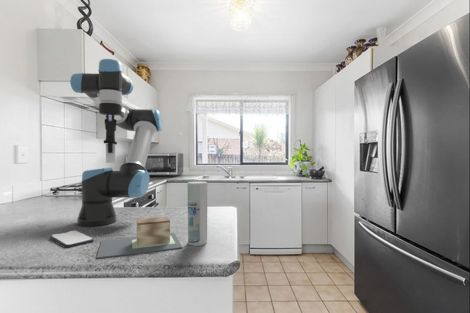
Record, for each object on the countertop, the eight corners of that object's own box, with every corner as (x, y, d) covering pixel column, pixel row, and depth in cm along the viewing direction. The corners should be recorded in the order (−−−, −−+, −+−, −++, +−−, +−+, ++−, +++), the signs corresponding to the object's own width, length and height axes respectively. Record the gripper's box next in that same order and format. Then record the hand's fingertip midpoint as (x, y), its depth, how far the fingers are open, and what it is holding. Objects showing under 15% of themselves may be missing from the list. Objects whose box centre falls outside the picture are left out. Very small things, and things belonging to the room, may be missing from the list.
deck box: (167, 237, 95) (167, 216, 95) (169, 242, 89) (169, 220, 89) (136, 240, 91) (136, 219, 91) (137, 246, 86) (137, 223, 86)
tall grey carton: (183, 242, 91) (183, 182, 90) (198, 238, 95) (198, 181, 95) (196, 247, 86) (196, 183, 86) (211, 242, 91) (211, 182, 91)
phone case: (95, 243, 92) (76, 233, 102) (95, 238, 92) (76, 229, 102) (66, 250, 85) (48, 239, 95) (66, 245, 85) (48, 235, 95)
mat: (101, 241, 92) (101, 239, 92) (173, 233, 101) (173, 232, 101) (96, 258, 76) (96, 257, 76) (182, 248, 85) (182, 246, 85)
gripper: (101, 107, 110) (101, 160, 110) (96, 96, 87) (96, 163, 87) (121, 109, 113) (121, 160, 113) (122, 98, 90) (122, 163, 90)
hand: (111, 162), depth 100 cm, fingers open, 13 cm apart
